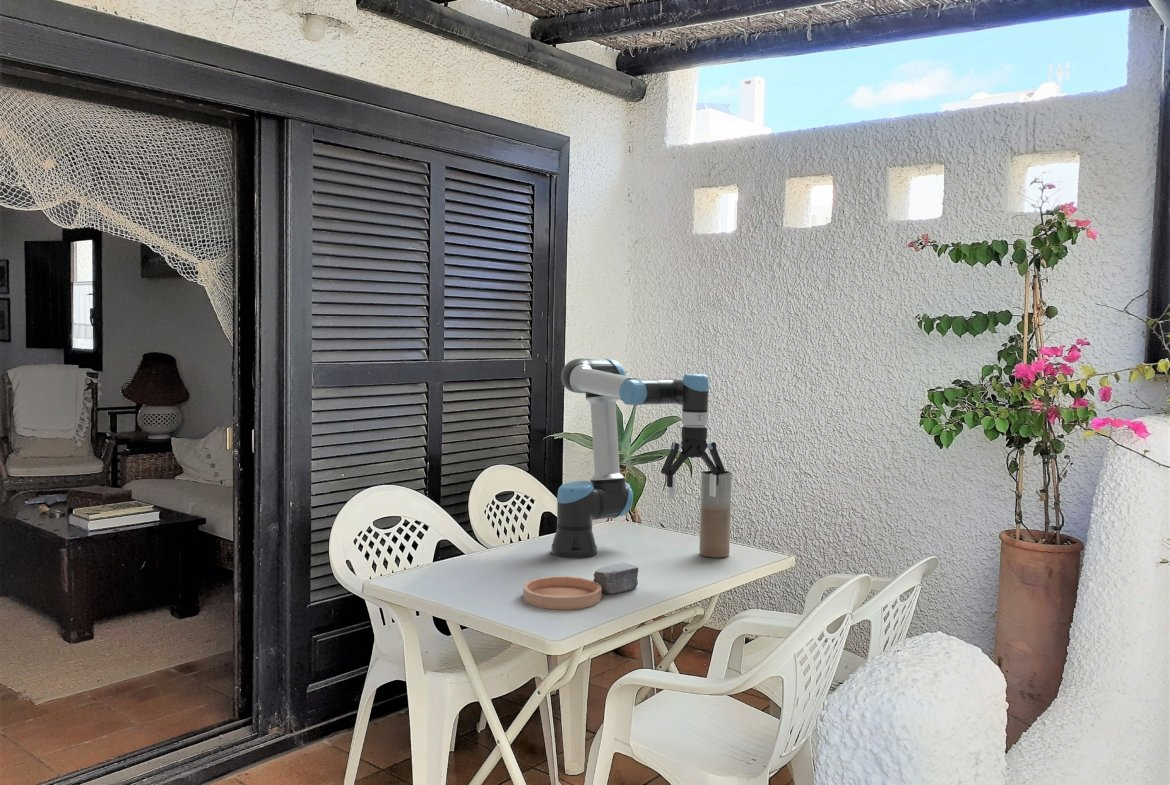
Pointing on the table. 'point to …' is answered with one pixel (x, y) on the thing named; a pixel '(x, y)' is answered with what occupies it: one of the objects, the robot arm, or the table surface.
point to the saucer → (562, 593)
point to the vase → (715, 516)
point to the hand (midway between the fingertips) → (692, 497)
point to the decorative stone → (617, 578)
